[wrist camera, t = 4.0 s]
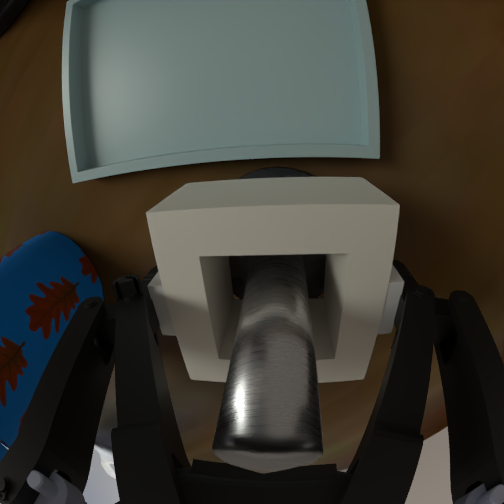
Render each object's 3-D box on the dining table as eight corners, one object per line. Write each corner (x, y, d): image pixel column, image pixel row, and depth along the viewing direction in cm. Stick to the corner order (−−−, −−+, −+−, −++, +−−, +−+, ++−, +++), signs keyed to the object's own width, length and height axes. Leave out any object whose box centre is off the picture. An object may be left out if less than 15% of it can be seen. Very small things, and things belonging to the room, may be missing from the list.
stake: (205, 170, 18) (34, 309, 4) (344, 166, 17) (507, 305, 3) (220, 288, 22) (159, 478, 8) (338, 286, 21) (383, 483, 7)
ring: (187, 183, 14) (145, 212, 10) (361, 177, 13) (399, 204, 9) (214, 343, 19) (198, 400, 14) (344, 342, 18) (356, 400, 13)
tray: (81, 7, 12) (66, 1, 10) (346, -40, 10) (352, -53, 8) (88, 177, 18) (72, 183, 17) (369, 154, 16) (379, 158, 14)
